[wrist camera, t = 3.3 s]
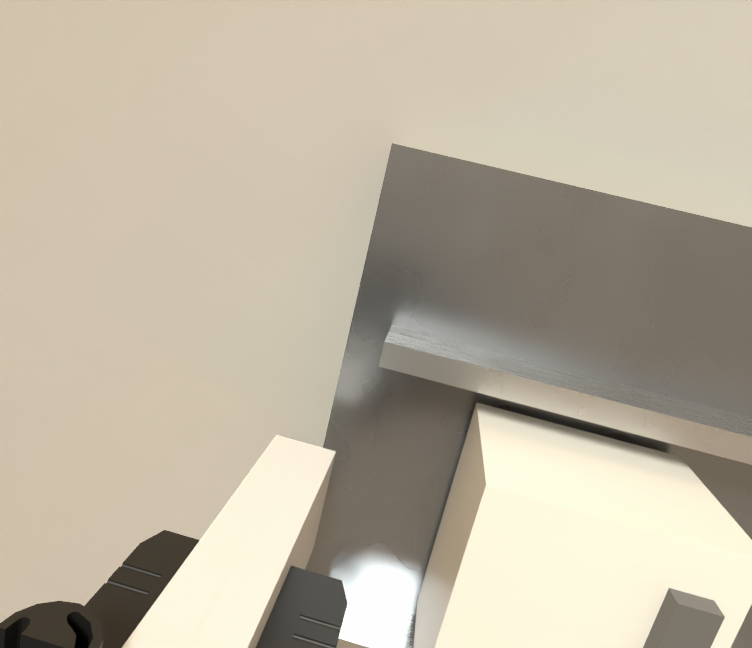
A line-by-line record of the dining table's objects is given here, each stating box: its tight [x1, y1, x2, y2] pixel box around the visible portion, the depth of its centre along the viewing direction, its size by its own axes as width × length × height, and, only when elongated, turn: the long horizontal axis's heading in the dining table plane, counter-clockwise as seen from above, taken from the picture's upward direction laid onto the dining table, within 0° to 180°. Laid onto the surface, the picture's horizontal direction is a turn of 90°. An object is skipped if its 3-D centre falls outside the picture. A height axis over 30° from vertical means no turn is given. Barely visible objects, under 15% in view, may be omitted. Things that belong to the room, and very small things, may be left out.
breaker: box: [413, 402, 752, 648], centre depth 12 cm, size 5×6×4 cm
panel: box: [305, 144, 752, 648], centre depth 15 cm, size 18×21×4 cm
